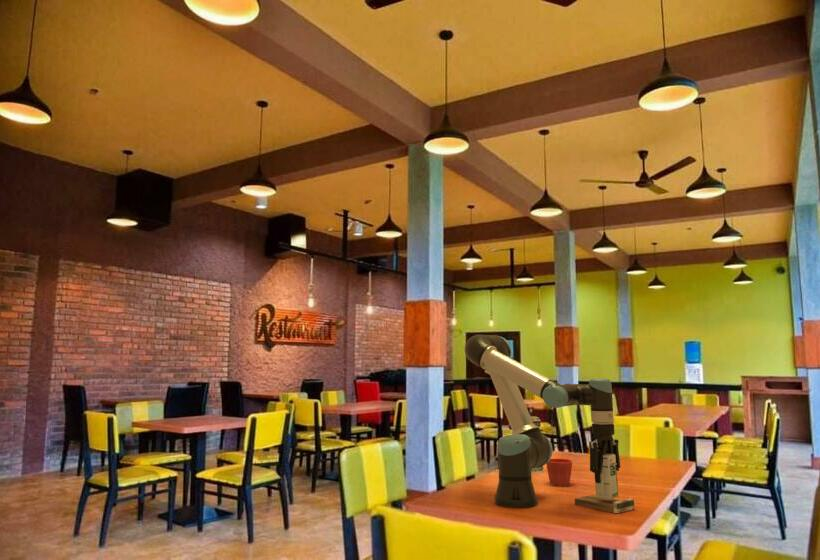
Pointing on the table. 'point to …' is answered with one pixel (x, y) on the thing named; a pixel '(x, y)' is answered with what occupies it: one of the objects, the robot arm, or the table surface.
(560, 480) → the flower pot
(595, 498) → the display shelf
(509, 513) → the table surface
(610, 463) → the syrup box
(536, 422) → the decorative candle
